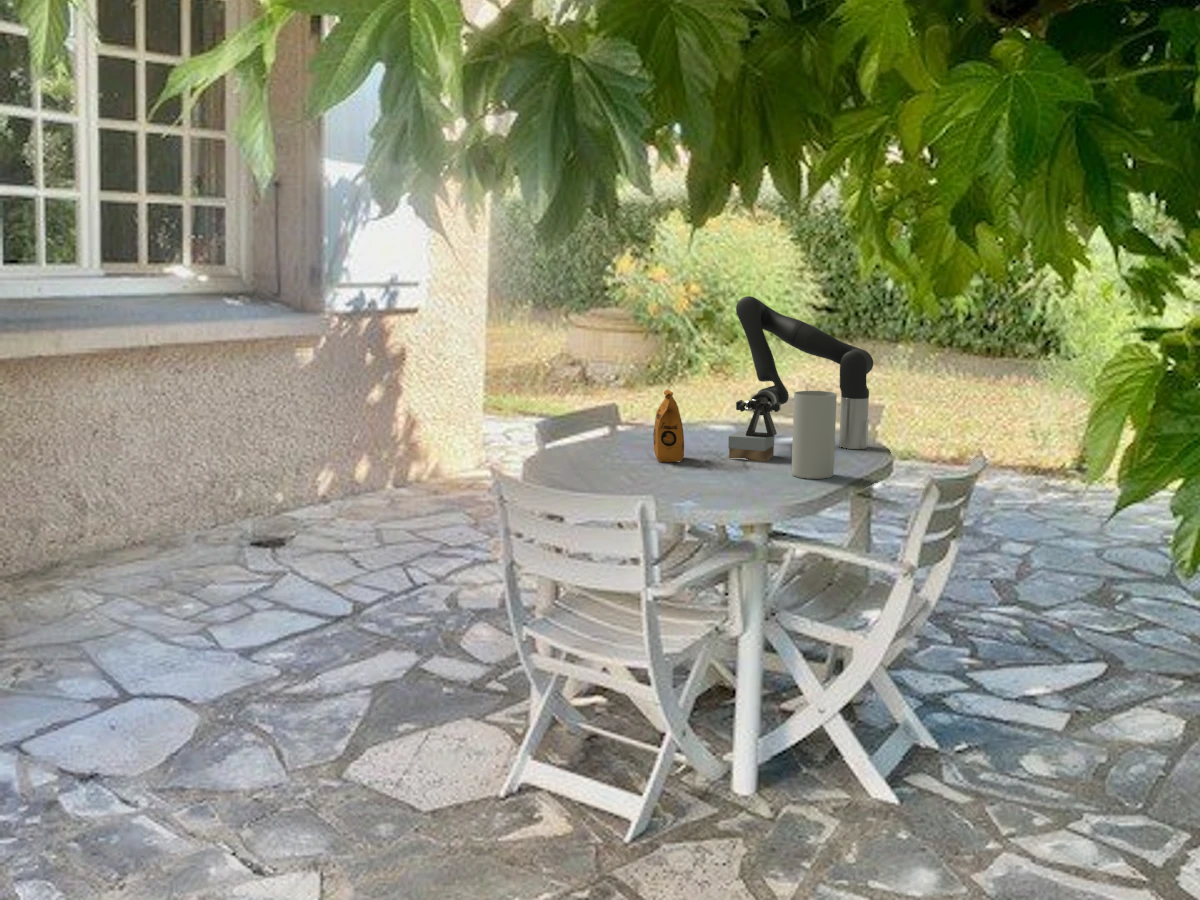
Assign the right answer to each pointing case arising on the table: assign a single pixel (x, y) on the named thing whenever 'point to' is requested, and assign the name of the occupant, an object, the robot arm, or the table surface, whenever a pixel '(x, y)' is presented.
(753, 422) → the black triangular frame
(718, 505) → the table surface
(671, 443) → the coffee package
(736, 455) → the bottom slab
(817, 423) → the cylinder vase
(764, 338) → the robot arm
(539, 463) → the table surface
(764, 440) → the top slab
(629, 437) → the table surface
